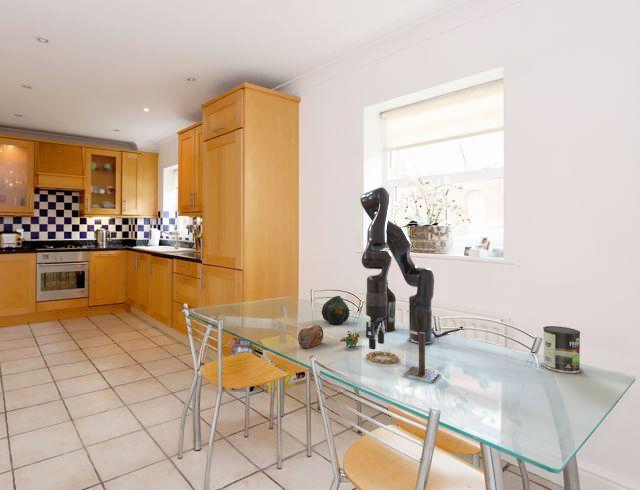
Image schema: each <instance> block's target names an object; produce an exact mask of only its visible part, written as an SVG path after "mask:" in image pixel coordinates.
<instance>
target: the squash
mask: <svg viewBox="0 0 640 490" xmlns="http://www.w3.org/2000/svg"><path fill="white" fill-rule="evenodd" d="M321 316H322V318H323V320H324V321H327V322H329V323H330V324H332V325H334V324H335V325H336V324H338V325H340V324H341V323H345V322H347V320H348V319H349V318H350V307H349V306H348V305H347V303H346V302H345V300H344V299H343V298H342V297H341V295H336V296H333V297H331V298H330V299H328V300H327V301H326V302H325V303H324V304H323V305H322V308H321Z"/></svg>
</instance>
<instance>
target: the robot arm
mask: <svg viewBox="0 0 640 490" xmlns="http://www.w3.org/2000/svg"><path fill="white" fill-rule="evenodd" d="M359 201H360V204H361V207H362V208H363V210H364V212H365V213H366V215H367V216H368V217H369V219H370V220H371V222H370V224H369V226H368V228H367V233H366V234H367V235H366V244H365V245H366V246H365V249H364V251H363V253H362V255H361V264H362V266H363V267H364V269H367V270H380V272H379V273H377V274H371V275H368V276H367V277H366V295H365V296H366V297H365V315H366V316H367V317H369V321H366V323H365V338H366V339H368V349H369V350H376V349H377V348H376V347H377V345H376V344H377V343H378V344H381V345H384V344H385V334H386V332H388V331H387V282H388V281H387V280H388V275H389V271H390V268H391V265H392V260H393V259H392V257H393V258H394V260H395V262H396V264H397V266H398V268H399V269H400V272H401V274H402V277H403V279H404V281H405V283H406V284H407V285H408V286H410V287H412V288H416V293H415V294H412V295H410V296H409V297H408V317H409V318H408V320H409V321H408V323H409V324H408V325H409V327H408V331H409V333H408V340H409V342H411V343H414V344H418V345H419V332H424V333H425V345H429V344H430V345H431V344H432V343H433V336H434V337H436V338H440V337H443V336H444V335H446V334H451V333H455V332H459V331H460V330H461V329H462V328H464V326H459V327H458V328H461V329H458V328H456V329H451V330H446V331H443V332H442V333H440V334H437V333H436V332H435V331H434V327H433V307H432V306H433V305H432V304H433V303H432V302H433V298H434V295H435V294H434V292H435V291H434V290H435V275H434V273H433V271H432V270H431V269H430V268H427V267H420V266H419V267H418V266H416V264H415V263H414V262H413V259H412V256H411V249H412V247H411V245H412V244H411V241H410V239H409V237H408V234H406V232H405V230H404V229H403V228H402V227H401V226H399V225H398V224H396V223H394V222H392V221H390V220H388V219H389V215H390V210H391V203H392V201H391V196H390V192H389V191H388V190H387V189H386V188H385V187H382V186H381V187H377V188H375V189H372V190H370V191H367V192H365V193H363V194H361V195H360V198H359ZM386 247H387V249H388V250H389V251H388V250H384V249H385V248H386ZM376 339H377V340H376ZM376 342H377V343H376Z"/></svg>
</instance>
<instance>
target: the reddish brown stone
mask: <svg viewBox="0 0 640 490" xmlns="http://www.w3.org/2000/svg"><path fill="white" fill-rule="evenodd" d="M323 339H324V330H323V328H322V327H321V325H315V324H313V325H310V326H307V327H303V328H301V329H300V330H299V332H298V334H297V341H298V342H297V343H298V345H299V346H300V347H301V348H304V349H310V348H312V347H316V346H318V345H321V343H322V342H323Z"/></svg>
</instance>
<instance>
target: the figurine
mask: <svg viewBox="0 0 640 490" xmlns="http://www.w3.org/2000/svg"><path fill="white" fill-rule="evenodd" d="M351 333H352V332H351V330H347V336H346V337H343V338H341V339H340V340H339V342H341V343H343V342H344V343H345V344H346V348H349V349H352V347H353V346H354V348H355V347H356V345H357V343H359V338H361V337H360V333H359V332H354V333H352V334H351Z"/></svg>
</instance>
